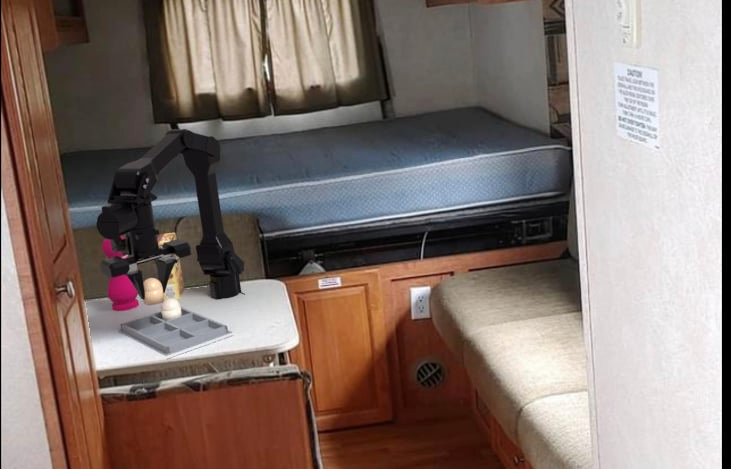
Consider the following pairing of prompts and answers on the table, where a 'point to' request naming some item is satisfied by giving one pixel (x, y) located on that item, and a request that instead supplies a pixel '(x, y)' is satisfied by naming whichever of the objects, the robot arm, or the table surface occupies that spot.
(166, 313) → the cream egg
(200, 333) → the grey compartment tray
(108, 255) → the pepper mill
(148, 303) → the beige rounded piece
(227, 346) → the table surface
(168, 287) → the candy box
